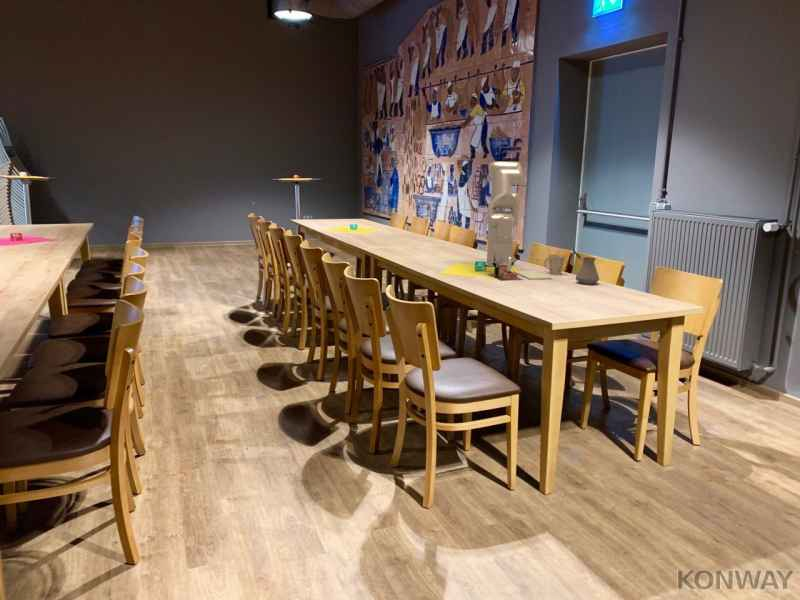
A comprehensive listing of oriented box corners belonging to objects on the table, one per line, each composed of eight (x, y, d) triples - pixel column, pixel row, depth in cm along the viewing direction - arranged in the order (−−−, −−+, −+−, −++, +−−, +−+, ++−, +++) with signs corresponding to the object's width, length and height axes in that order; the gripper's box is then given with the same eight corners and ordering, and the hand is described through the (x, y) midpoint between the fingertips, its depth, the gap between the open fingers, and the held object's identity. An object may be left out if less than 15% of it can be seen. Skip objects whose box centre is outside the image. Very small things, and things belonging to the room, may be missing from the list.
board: (513, 274, 334) (513, 271, 333) (533, 274, 337) (533, 270, 336) (529, 282, 315) (530, 278, 314) (551, 281, 318) (551, 277, 317)
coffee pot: (603, 285, 311) (606, 255, 308) (583, 285, 308) (586, 255, 305) (579, 277, 331) (582, 249, 328) (560, 277, 328) (562, 249, 325)
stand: (486, 276, 329) (488, 253, 326) (509, 275, 332) (511, 253, 329) (500, 282, 312) (501, 258, 309) (524, 281, 315) (525, 258, 312)
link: (495, 274, 327) (495, 265, 326) (505, 274, 329) (505, 265, 327) (506, 279, 314) (507, 270, 313) (516, 279, 315) (517, 269, 314)
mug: (556, 275, 334) (558, 257, 332) (538, 272, 344) (539, 254, 341) (566, 274, 339) (567, 256, 337) (547, 270, 349) (548, 253, 347)
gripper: (516, 239, 327) (514, 273, 331) (486, 239, 323) (484, 274, 327) (522, 241, 320) (520, 275, 324) (491, 241, 316) (489, 276, 320)
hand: (502, 274), depth 325 cm, fingers closed on link, 5 cm apart
